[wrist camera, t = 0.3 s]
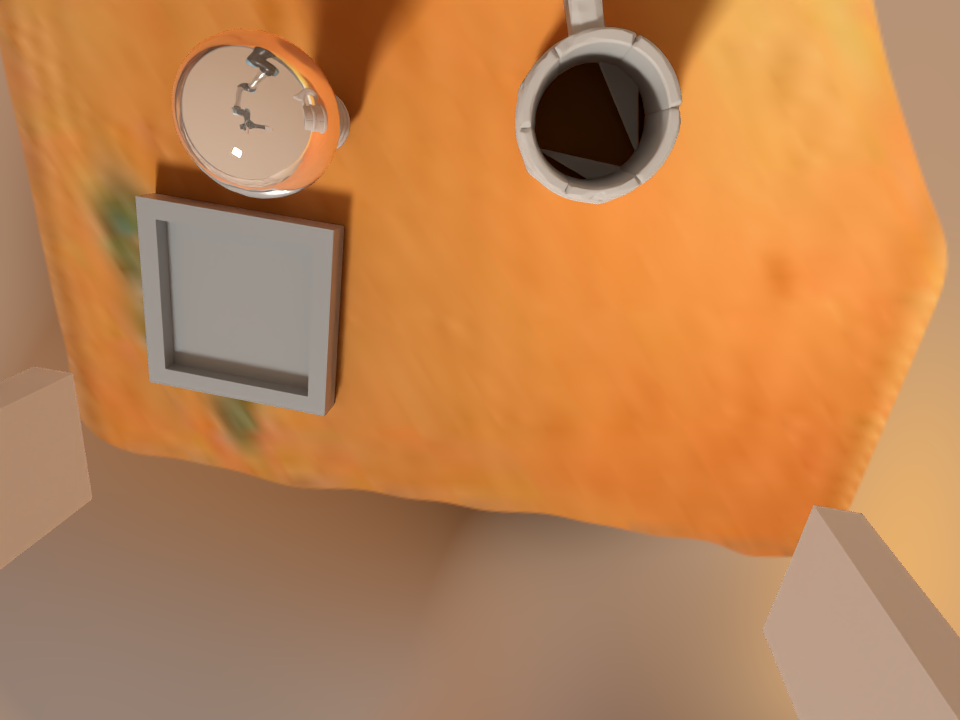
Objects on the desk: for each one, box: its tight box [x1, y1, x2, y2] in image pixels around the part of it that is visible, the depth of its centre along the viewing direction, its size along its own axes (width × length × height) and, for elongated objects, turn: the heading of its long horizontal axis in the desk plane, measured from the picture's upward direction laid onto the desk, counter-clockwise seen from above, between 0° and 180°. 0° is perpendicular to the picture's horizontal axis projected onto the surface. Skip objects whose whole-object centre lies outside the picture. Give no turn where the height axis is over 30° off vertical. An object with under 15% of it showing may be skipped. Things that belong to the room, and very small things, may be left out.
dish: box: [136, 193, 344, 416], centre depth 38 cm, size 12×12×2 cm
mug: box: [515, 0, 682, 204], centre depth 26 cm, size 8×12×12 cm, turn 11°
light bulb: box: [171, 28, 350, 199], centre depth 28 cm, size 7×7×12 cm
